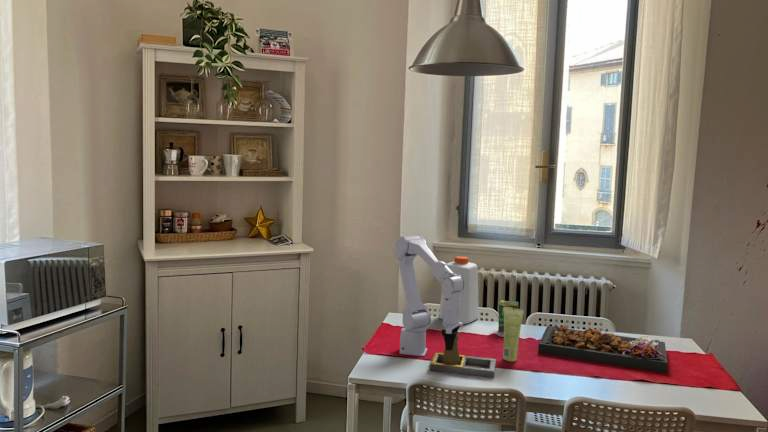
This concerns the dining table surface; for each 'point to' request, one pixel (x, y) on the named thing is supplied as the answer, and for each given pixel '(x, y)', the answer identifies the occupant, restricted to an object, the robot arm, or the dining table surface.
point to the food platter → (604, 348)
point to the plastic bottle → (465, 289)
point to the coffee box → (501, 313)
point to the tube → (511, 332)
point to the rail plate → (464, 366)
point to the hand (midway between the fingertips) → (450, 347)
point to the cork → (452, 354)
